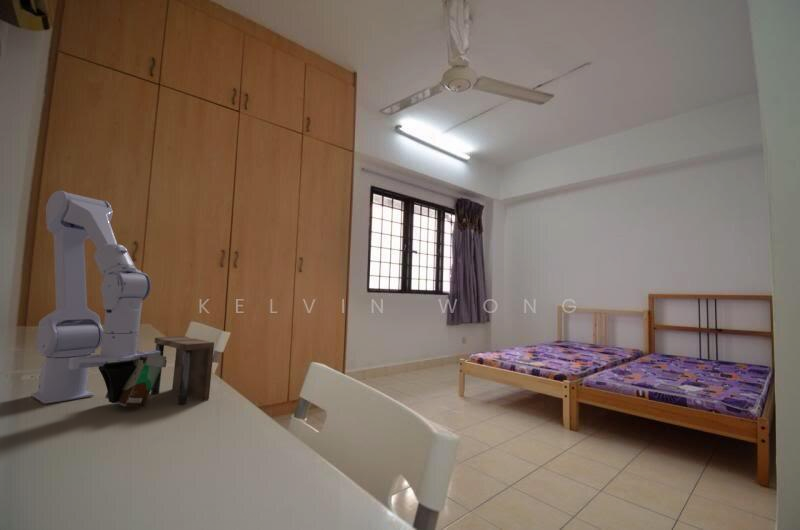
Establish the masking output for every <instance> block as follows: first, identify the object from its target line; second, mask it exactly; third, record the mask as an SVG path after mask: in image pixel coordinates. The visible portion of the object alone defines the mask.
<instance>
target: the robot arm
mask: <svg viewBox="0 0 800 530" xmlns="http://www.w3.org/2000/svg"><path fill="white" fill-rule="evenodd" d="M113 214H114V212H113V209H112V206H111V204H110V203H109V201H107V200H104V199H103V200H100V199H96V198H92V197H87V196H82V195H79V194H75V193H70V192H66V191H64V190H61V189H60V190H57V191H55V192H53V193H52V194H51V195H50V197H49V199H48V201H47V203H46V205H45V218H46V219H45V220H46V222H45V223H46V230H47V231H49V232H50V233H51V234H53V248H54V250H53V251H54V281H55V283H54V284H55V310H53V311H52V312H51V313H48V314H47V315H45V316H44V317H42V319H40V320H39V322H38V329H37V333H36V336H35V348H36V350H37V351H38V352H39V353H40V354H41V356H43V357H45V359H43V360H42V363H41V366H40V370H39V377H38V378H39V379H38V385H37V391H36V392H35V391H34V392H30V396H32V397H33V398H34V399H36V400H38V401H39V402H41V403H42V404H53V403H59V402H64V401H71V400H76V399H77V400H78V399H83V398H89V397H94V396H95V395H94V394H95V393H93V392H91V391H89V390H87V388H88V382H89V381H88V380H89V373H90V372H89V371H90V368H97V367H98V370H99V372H100V374H101V376H102V379H103V381H104V383H105V386H106V389H107V390H106V391H107V392H108V397H109V399H108V402H109V403H111V404H115V403H116V404H118V403H117V401H118V398H119V396H120V393H121V391H122V389H123V387H124V385H125V383H126V381H127V380H128V378H129V377H130V375H131V374H132V373H133V371H134V369H135V365H133V362H134V360H137V359H138V358H140V357H148V355H149V354H150V355H156V356H160V353H161V352H160V351H155V350H138V342H139V335H140V334H139V333H140V326H141V325H140V323H141V317H142V315H141V314H142V308H143V307H142V306H143V301H145V300H146V299H147V298H148V297H149V295H150V292H151V289H152V281H151V279H150V277H149V275H148V274H147V273H145V272H142V271H141V270H140V269H137V267H136V266H135V263H134V261H133V260H132V259H133V258H132V257H131V256H130V253H129V251H128V249H127V248H126V247H125V246H124V245H122V244H118V242H117V239H116V237H115V233H114V231H113V228H112V225H111V221H112V218H113ZM87 239H88V240H89V239H90V240H91V242H93V244H94V246H95V248H96V250H95V251H94V253H93V259H94V261H95V263H96V265H97V267H98V269H99V272H100V274H101V276H102V278H103V281H102V284H101V285H100V293H101V296H102V306H103V309H105V312H104V323H103V326H102V324H101V316H100V315H99V314H97V313H96V312H95V311H94V310H91V309H89V308H88V301H87V298H88V297H87V277H86V260H85V259H86V257H85V256H86V255H85V241H86V240H87ZM99 348H100V353H99V354H95V353H96V350H97V349H99ZM92 354H93V355H92Z"/></svg>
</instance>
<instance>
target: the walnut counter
mask: <svg viewBox="0 0 800 530" xmlns="http://www.w3.org/2000/svg"><path fill="white" fill-rule="evenodd" d="M154 344H155V350H154V351H160V352H161V353H160V355H161V356H164V352H165V346H166V347H170V348H175V349H176V350H175V358H174V359H175V360H174V368H173V378H172V388H171V389H172V390H173V391H176V392H178V397H177V398H178V399H177V405H178V406H186V405H187V404H188V403H187V402H188V396H190V397H192V396H193V398H195V397H196V399H198V398H199V399H198V400H201V399H202V400H201V401H204V400H206V401H208V400H207V399H209V400H210V391H211V390H210V389H211V380H212V371H213V370H212V368H213V358H214V349H215V341H214V342H213V341H209V340H203V339H198V338H193V337H188V336H184V335H179V336H178V335H177V336H175V335H174V336H164V337H161V336H160V337H154ZM162 368H163V367H162ZM162 368H161V370H160V372H159V375H158V377H157V379H156V381H155V383H154V385H153V387H152V389H151V391H150V395H159V394H160V388H161V379H162V371H163V370H162Z"/></svg>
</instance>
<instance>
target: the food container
mask: <svg viewBox="0 0 800 530" xmlns="http://www.w3.org/2000/svg"><path fill="white" fill-rule="evenodd" d="M167 362H168V361H167V356H165V355H163V356H161V355H160V356H156V355H150V354H149V355H148V357H140V358H138V359H137V360H134V362H133V365H135V369H134V371H133V373H132V374H131V375H130V377H129V378H128V380H127V381H126V383H125V385H124V387H123V389H122V391H121V393H120V396H119V398H118V401H117V403H116V404H118V405H120V406H123V407H125V408H126V407H127V408H139V407H144V405H145V403H146V401H147V399H148V397H149V395H150V394H151V389H152V387H153V385H154V383H155V381H156V379H157V377H158V375H159V372H160V370H161V368H166V367H167ZM104 399H107V400H109V397H108V391H107V392H106V394H105V398H104Z"/></svg>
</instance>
